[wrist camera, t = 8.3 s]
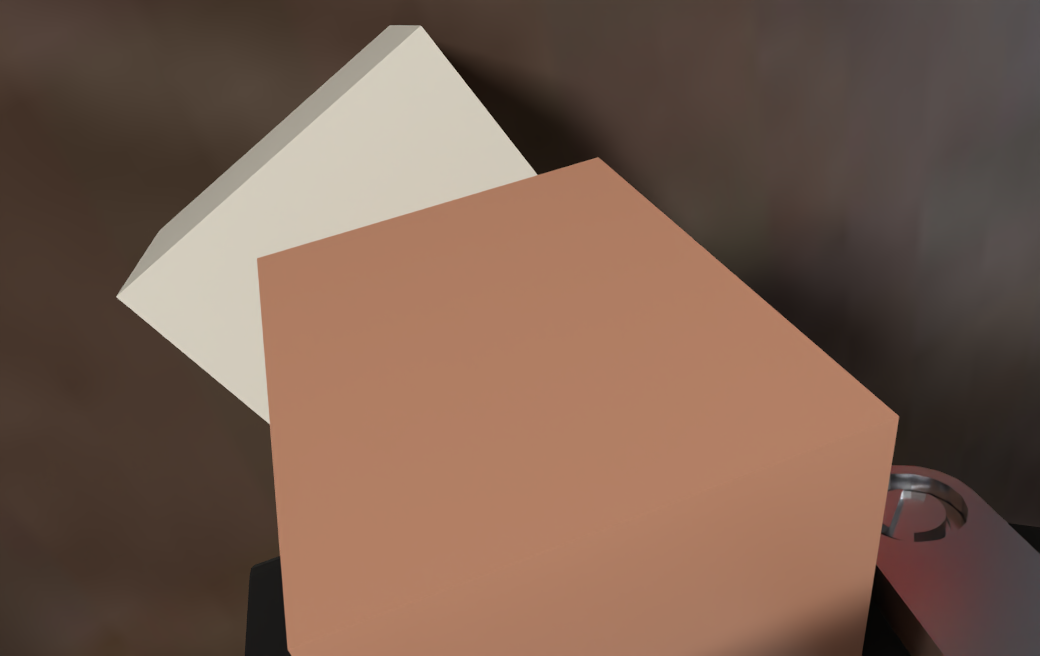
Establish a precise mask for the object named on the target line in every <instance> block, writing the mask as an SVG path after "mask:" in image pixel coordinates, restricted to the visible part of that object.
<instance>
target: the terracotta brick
mask: <svg viewBox="0 0 1040 656" xmlns="http://www.w3.org/2000/svg"><path fill="white" fill-rule="evenodd" d="M257 267H258V279H259V292H260V305H261V317H262V330H263V343H264V356H265V368H266V381H267V394H268V406H269V419H270V432H271V444H272V457H273V470H274V483H275V495H276V508H277V521H278V533H279V546H280V559H281V571H282V584H283V597H284V610H285V622H286V635H287V648H288V651H289V653H290V654H291V656H862V650H863V643H864V637H865V631H866V624H867V618H868V612H869V605H870V599H871V593H872V586H873V580H874V574H875V567H876V561H877V554H878V548H879V542H880V535H881V529H882V523H883V516H884V510H885V504H886V497H887V491H888V485H889V478H890V472H891V466H892V459H893V453H894V446H895V440H896V434H897V427H898V421H899V416H898V415H897V414H896V413H895V412H894V411H892V410H891V409H890V408H889V407H888V406H887V405H885V404H884V403H883V402H882V401H881V400H880V399H878V398H877V397H876V396H875V395H874V394H873V393H871V392H870V391H869V390H868V389H867V388H866V387H864V386H863V385H862V384H861V383H860V382H859V381H858V380H856V379H855V378H854V377H853V376H852V375H851V374H849V373H848V372H847V371H846V370H845V369H844V368H842V367H841V366H840V365H839V364H838V363H837V362H835V361H834V360H833V359H832V358H831V357H830V356H828V355H827V354H826V353H825V352H824V351H823V350H822V349H820V348H819V347H818V346H817V345H816V344H815V343H813V342H812V341H811V340H810V339H809V338H808V337H806V336H805V335H804V334H803V333H802V332H801V331H799V330H798V329H797V328H796V327H795V326H794V325H792V324H791V323H790V322H789V321H788V320H787V319H786V318H784V317H783V316H782V315H781V314H780V313H779V312H777V311H776V310H775V309H774V308H773V307H772V306H770V305H769V304H768V303H767V302H766V301H765V300H763V299H762V298H761V297H760V296H759V295H758V294H757V293H755V292H754V291H753V290H752V289H751V288H750V287H748V286H747V285H746V284H745V283H744V282H743V281H741V280H740V279H739V278H738V277H737V276H736V275H734V274H733V273H732V272H731V271H730V270H729V269H727V268H726V267H725V266H724V265H723V264H722V263H721V262H719V261H718V260H717V259H716V258H715V257H714V256H712V255H711V254H710V253H709V252H708V251H707V250H705V249H704V248H703V247H702V246H701V245H700V244H698V243H697V242H696V241H695V240H694V239H693V238H691V237H690V236H689V235H688V234H687V233H686V232H685V231H683V230H682V229H681V228H680V227H679V226H678V225H676V224H675V223H674V222H673V221H672V220H671V219H669V218H668V217H667V216H666V215H665V214H664V213H662V212H661V211H660V210H659V209H658V208H657V207H655V206H654V205H653V204H652V203H651V202H650V201H649V200H647V199H646V198H645V197H644V196H643V195H642V194H640V193H639V192H638V191H637V190H636V189H635V188H633V187H632V186H631V185H630V184H629V183H628V182H626V181H625V180H624V179H623V178H622V177H621V176H619V175H618V174H617V173H616V172H615V171H614V170H613V169H611V168H610V167H609V166H608V165H607V164H606V163H604V162H603V161H602V160H601V159H600V158H599V157H597V158H594V159H591V160H587V161H584V162H580V163H577V164H574V165H570V166H567V167H564V168H560V169H557V170H553V171H550V172H547V173H543V174H540V175H537V176H533V177H530V178H526V179H523V180H520V181H516V182H513V183H510V184H506V185H503V186H499V187H496V188H493V189H489V190H486V191H482V192H479V193H476V194H472V195H469V196H466V197H462V198H459V199H455V200H452V201H449V202H445V203H442V204H439V205H435V206H432V207H428V208H425V209H422V210H418V211H415V212H412V213H408V214H405V215H401V216H398V217H395V218H391V219H388V220H385V221H381V222H378V223H374V224H371V225H368V226H364V227H361V228H358V229H354V230H351V231H347V232H344V233H341V234H337V235H334V236H331V237H327V238H324V239H320V240H317V241H314V242H310V243H307V244H304V245H300V246H297V247H293V248H290V249H287V250H283V251H280V252H277V253H273V254H270V255H266V256H263V257H260V258H257Z"/></svg>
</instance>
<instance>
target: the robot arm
mask: <svg viewBox="0 0 1040 656" xmlns="http://www.w3.org/2000/svg"><path fill="white" fill-rule="evenodd" d="M245 656H291V654H290V653H289V651H288V648H287V635H286V622H285V610H284V597H283V584H282V571H281V559H280V556H279V557H276V558H273V559H270V560H268V561H265V562H262V563H259V564H256V565H254V566H253V567H252V568H251V573H250V580H249V596H248V612H247V628H246V645H245ZM862 656H1040V528H1038V527H1031V526H1024V525H1017V524H1010V523H1007V522H1006V521H1005V520H1004V519H1003V518H1002V517H1001V516H1000V515H998V514H997V513H996V512H995V511H994V510H993V509H992V508H991V507H990V506H989V505H988V504H987V503H986V502H985V501H984V500H983V499H982V498H981V497H980V496H979V495H978V494H976V493H975V492H974V491H973V490H972V489H971V488H969V487H968V486H967V485H965V484H964V483H962V482H961V481H960V480H958V479H956V478H954V477H952V476H949V475H947V474H944V473H942V472H940V471H937V470H932V469H927V468H923V467H918V466H902V465H893V466H891V472H890V478H889V485H888V491H887V497H886V504H885V510H884V516H883V523H882V529H881V535H880V542H879V548H878V554H877V561H876V567H875V574H874V580H873V586H872V593H871V599H870V605H869V612H868V618H867V624H866V631H865V637H864V643H863V650H862Z"/></svg>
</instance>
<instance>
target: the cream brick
mask: <svg viewBox="0 0 1040 656" xmlns="http://www.w3.org/2000/svg"><path fill="white" fill-rule="evenodd" d="M533 176H537V174H536V172H535V171H534V170H533V168H532V167H531V166H530V165H529V163H528V162H527V161H526V159H525V158H524V157H523V156H522V154H521V153H520V152H519V150H518V149H517V148H516V147H515V145H514V144H513V143H512V142H511V140H510V139H509V138H508V136H507V135H506V134H505V133H504V131H503V130H502V129H501V127H500V126H499V125H498V124H497V122H496V121H495V120H494V118H493V117H492V116H491V115H490V113H489V112H488V111H487V110H486V108H485V107H484V106H483V104H482V103H481V102H480V101H479V99H478V98H477V97H476V95H475V94H474V93H473V92H472V90H471V89H470V88H469V86H468V85H467V84H466V83H465V81H464V80H463V79H462V78H461V76H460V75H459V74H458V72H457V71H456V70H455V69H454V67H453V66H452V65H451V63H450V62H449V61H448V60H447V58H446V57H445V56H444V54H443V53H442V52H441V51H440V49H439V48H438V47H437V46H436V44H435V43H434V42H433V40H432V39H431V38H430V37H429V35H428V34H427V33H426V31H425V30H424V29H423V28H422V26H408V25H390V26H389V27H387V28H386V29H385V30H384V31H383V32H382V33H381V34H380V35H378V36H377V37H376V38H375V39H374V40H373V41H372V42H371V43H369V44H368V45H367V46H366V47H365V48H364V49H363V50H362V51H360V52H359V53H358V54H357V55H356V56H355V57H354V58H353V59H351V60H350V61H349V62H348V63H347V64H346V65H345V66H344V67H343V68H341V69H340V70H339V71H338V72H337V73H336V74H335V75H334V76H332V77H331V78H330V79H329V80H328V81H327V82H326V83H325V84H323V85H322V86H321V87H320V88H319V89H318V90H317V91H316V92H314V93H313V94H312V95H311V96H310V97H309V98H308V99H307V100H305V101H304V102H303V103H302V104H301V105H300V106H299V107H298V108H297V109H295V110H294V111H293V112H292V113H291V114H290V115H289V116H288V117H286V118H285V119H284V120H283V121H282V122H281V123H280V124H279V125H277V126H276V127H275V128H274V129H273V130H272V131H271V132H270V133H268V134H267V135H266V136H265V137H264V138H263V139H262V140H261V141H260V142H258V143H257V144H256V145H255V146H254V147H253V148H252V149H251V150H249V151H248V152H247V153H246V154H245V155H244V156H243V157H242V158H240V159H239V160H238V161H237V162H236V163H235V164H234V165H233V166H231V167H230V168H229V169H228V170H227V171H226V172H225V173H224V174H222V175H221V176H220V177H219V178H218V179H217V180H216V181H215V182H214V183H212V184H211V185H210V186H209V187H208V188H207V189H206V190H205V191H203V192H202V193H201V194H200V195H199V196H198V197H197V198H196V199H194V200H193V201H192V202H191V203H190V204H189V205H188V206H187V207H185V208H184V209H183V210H182V211H181V212H180V213H179V214H178V215H176V216H175V217H174V218H173V219H172V220H171V221H170V222H169V223H168V224H166V225H165V226H164V227H163V228H162V229H161V230H160V231H159V232H158V234H157V235H156V237H155V238H154V240H153V241H152V243H151V244H150V246H149V247H148V249H147V250H146V252H145V254H144V255H143V257H142V258H141V260H140V261H139V263H138V264H137V266H136V267H135V269H134V270H133V272H132V273H131V275H130V276H129V278H128V279H127V281H126V283H125V284H124V286H123V287H122V289H121V290H120V292H119V293H118V295H117V296H116V297H117V298H118V299H120V300H121V301H122V302H123V303H124V304H126V305H127V306H128V307H129V308H130V309H132V310H133V311H134V312H135V313H136V314H138V315H139V316H140V317H141V318H142V319H144V320H145V321H146V322H147V323H148V324H150V325H151V326H152V327H153V328H154V329H156V330H157V331H158V332H159V333H160V334H162V335H163V336H164V337H165V338H167V339H168V340H169V341H170V342H171V343H173V344H174V345H175V346H176V347H177V348H179V349H180V350H181V351H182V352H183V353H185V354H186V355H187V356H188V357H189V358H191V359H192V360H193V361H194V362H195V363H197V364H198V365H199V366H200V367H201V368H203V369H204V370H205V371H206V372H207V373H209V374H210V375H211V376H212V377H213V378H215V379H216V380H217V381H218V382H220V383H221V384H222V385H223V386H224V387H226V388H227V389H228V390H229V391H230V392H232V393H233V394H234V395H235V396H236V397H238V398H239V399H240V400H241V401H242V402H244V403H245V404H246V405H247V406H248V407H250V408H251V409H252V410H253V411H254V412H256V413H257V414H258V415H259V416H260V417H262V418H263V419H264V420H265V421H267V422H268V423H269V424H270V419H269V406H268V394H267V381H266V368H265V356H264V343H263V330H262V317H261V305H260V292H259V279H258V267H257V258H260V257H263V256H266V255H270V254H273V253H277V252H280V251H283V250H287V249H290V248H293V247H297V246H300V245H304V244H307V243H310V242H314V241H317V240H320V239H324V238H327V237H331V236H334V235H337V234H341V233H344V232H347V231H351V230H354V229H358V228H361V227H364V226H368V225H371V224H374V223H378V222H381V221H385V220H388V219H391V218H395V217H398V216H401V215H405V214H408V213H412V212H415V211H418V210H422V209H425V208H428V207H432V206H435V205H439V204H442V203H445V202H449V201H452V200H455V199H459V198H462V197H466V196H469V195H472V194H476V193H479V192H482V191H486V190H489V189H493V188H496V187H499V186H503V185H506V184H510V183H513V182H516V181H520V180H523V179H526V178H530V177H533Z"/></svg>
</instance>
